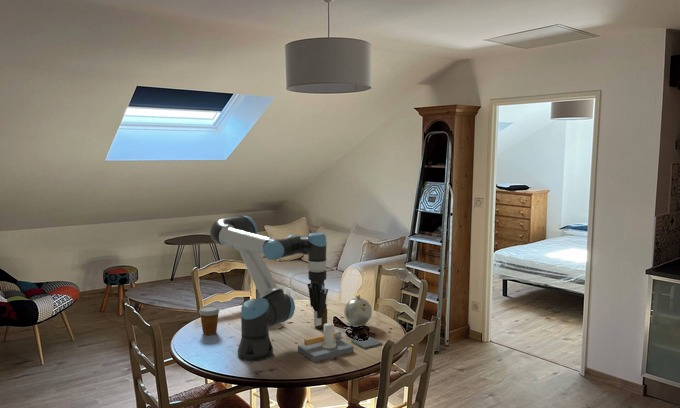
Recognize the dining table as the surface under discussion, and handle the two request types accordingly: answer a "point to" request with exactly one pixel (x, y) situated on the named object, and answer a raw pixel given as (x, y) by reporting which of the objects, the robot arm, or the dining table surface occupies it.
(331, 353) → the socket board
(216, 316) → the disposable coffee cup
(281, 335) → the dining table surface
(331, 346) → the white tall cylinder
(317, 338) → the orange rectangular bar
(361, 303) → the teapot
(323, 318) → the condiment
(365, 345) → the pad
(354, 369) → the dining table surface
